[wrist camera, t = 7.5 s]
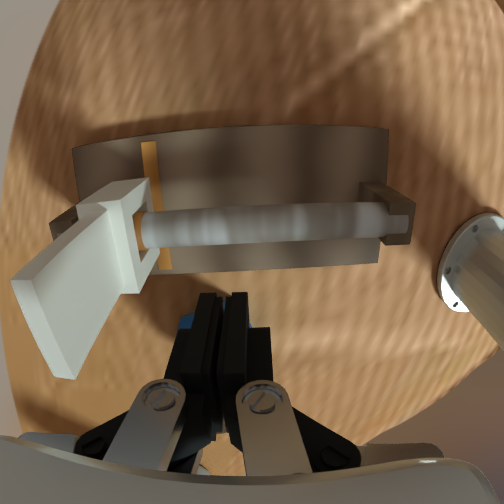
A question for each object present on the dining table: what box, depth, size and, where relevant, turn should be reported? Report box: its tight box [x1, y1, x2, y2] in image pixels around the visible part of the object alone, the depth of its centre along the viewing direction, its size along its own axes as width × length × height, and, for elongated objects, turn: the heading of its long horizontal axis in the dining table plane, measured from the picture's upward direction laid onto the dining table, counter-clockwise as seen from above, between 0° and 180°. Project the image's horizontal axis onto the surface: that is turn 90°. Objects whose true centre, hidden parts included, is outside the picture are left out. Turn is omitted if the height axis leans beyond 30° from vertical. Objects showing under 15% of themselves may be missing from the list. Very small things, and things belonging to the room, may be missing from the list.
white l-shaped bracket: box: [10, 177, 160, 380], centre depth 17 cm, size 3×6×14 cm, turn 2°
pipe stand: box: [49, 124, 416, 275], centre depth 23 cm, size 26×12×8 cm, turn 92°
